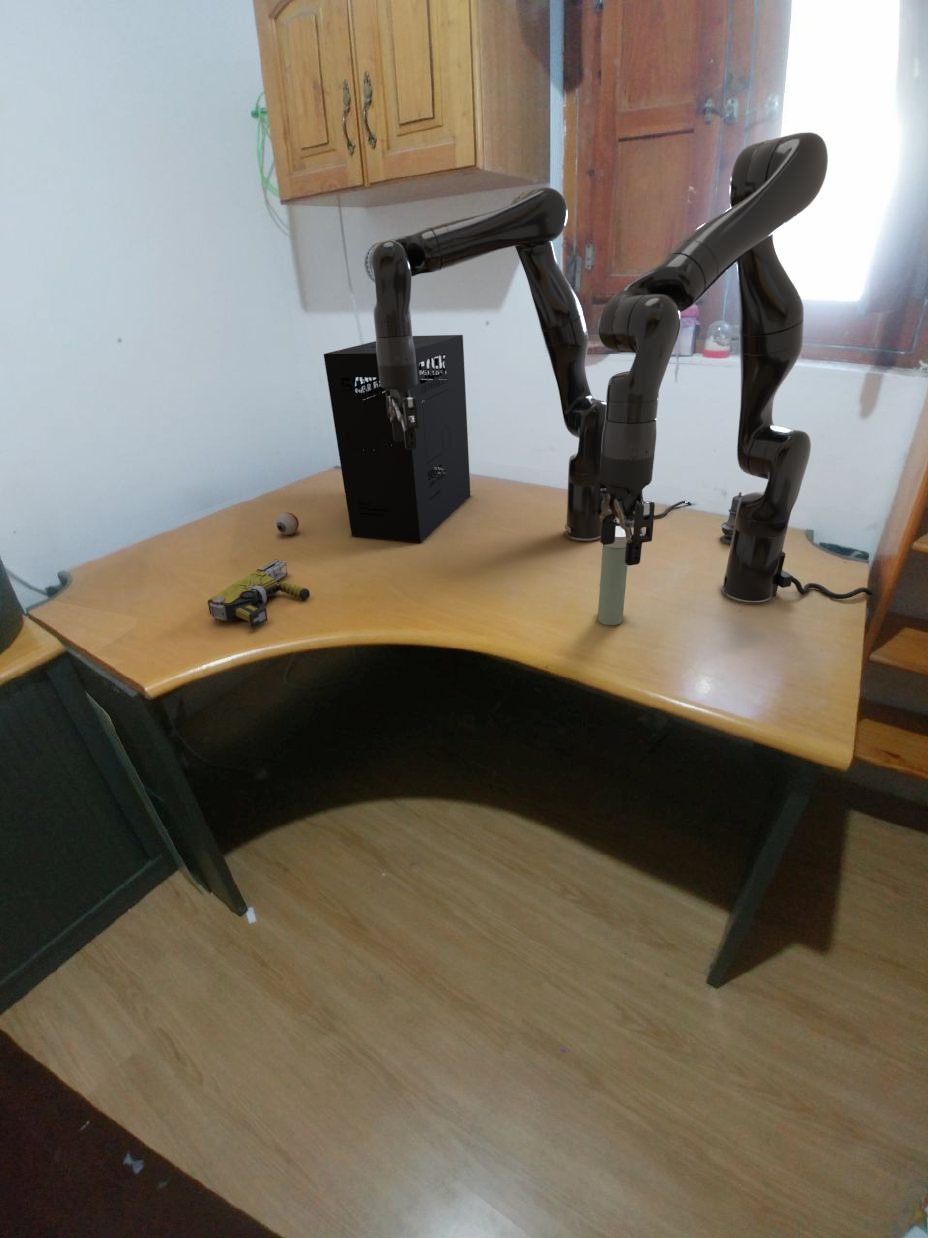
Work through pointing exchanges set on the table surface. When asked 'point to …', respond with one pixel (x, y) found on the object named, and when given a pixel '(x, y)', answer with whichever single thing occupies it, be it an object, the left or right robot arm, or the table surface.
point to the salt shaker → (730, 521)
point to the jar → (612, 586)
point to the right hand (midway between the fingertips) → (619, 553)
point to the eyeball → (287, 523)
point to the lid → (619, 538)
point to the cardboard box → (383, 468)
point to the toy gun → (253, 595)
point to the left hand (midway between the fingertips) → (404, 444)
